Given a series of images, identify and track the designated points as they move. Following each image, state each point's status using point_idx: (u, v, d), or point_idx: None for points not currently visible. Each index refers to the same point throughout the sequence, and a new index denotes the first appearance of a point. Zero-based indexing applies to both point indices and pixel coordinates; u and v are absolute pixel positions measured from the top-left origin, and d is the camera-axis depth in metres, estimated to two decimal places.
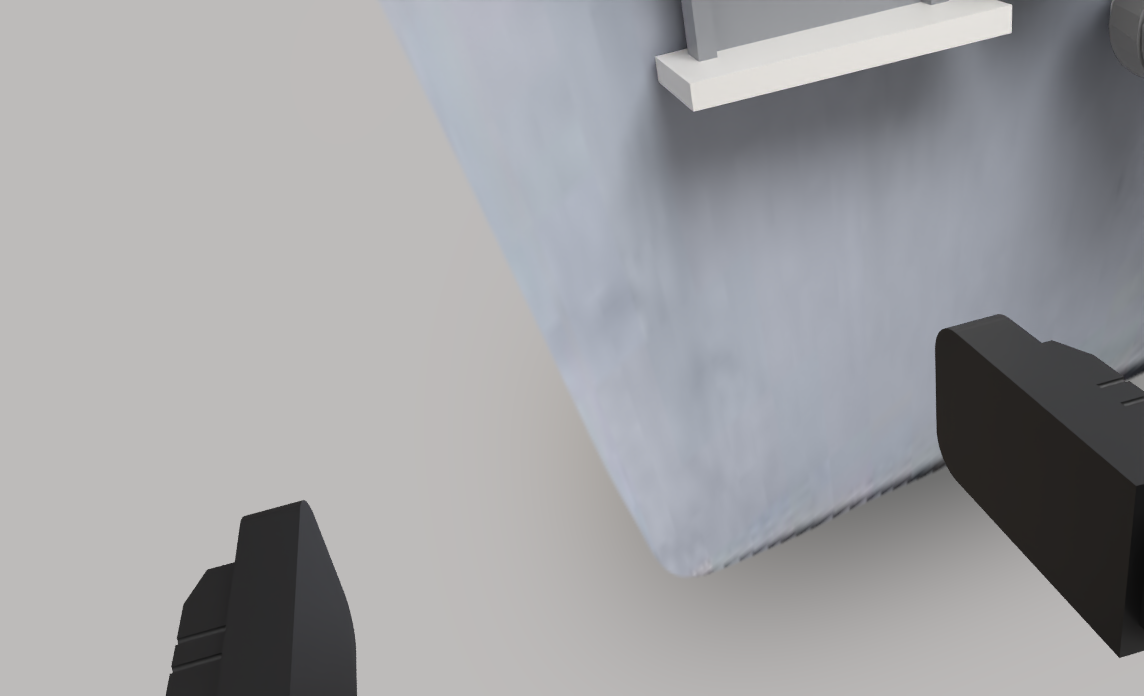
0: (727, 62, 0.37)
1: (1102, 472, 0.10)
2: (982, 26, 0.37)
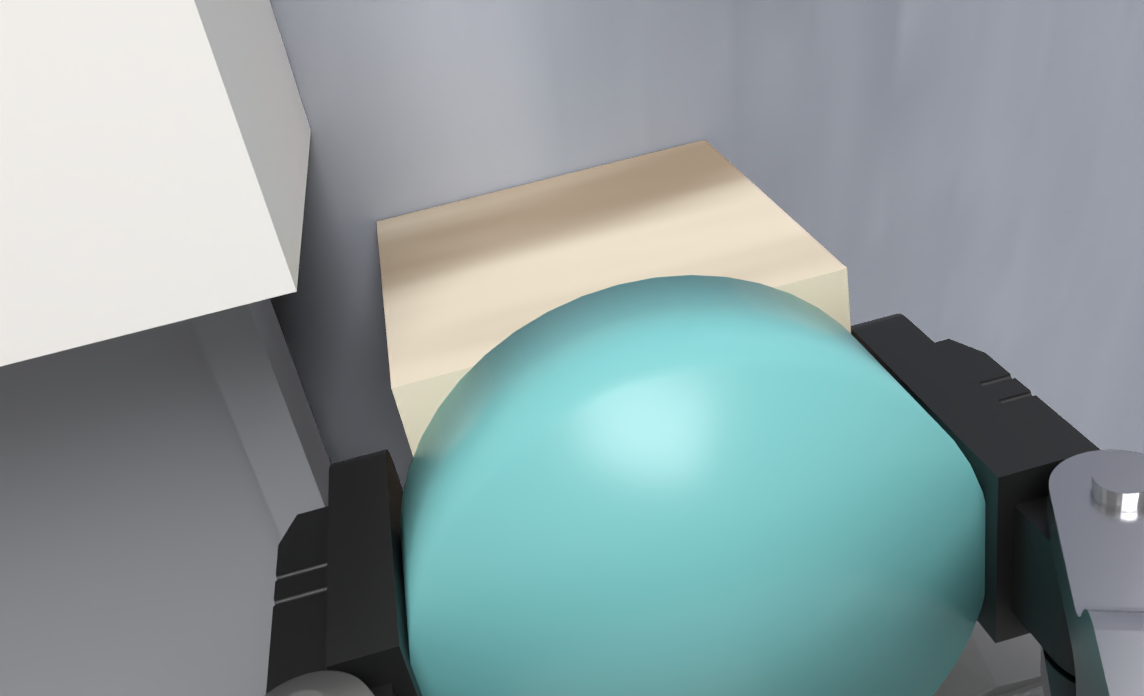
0: None
1: (971, 464, 0.10)
2: None
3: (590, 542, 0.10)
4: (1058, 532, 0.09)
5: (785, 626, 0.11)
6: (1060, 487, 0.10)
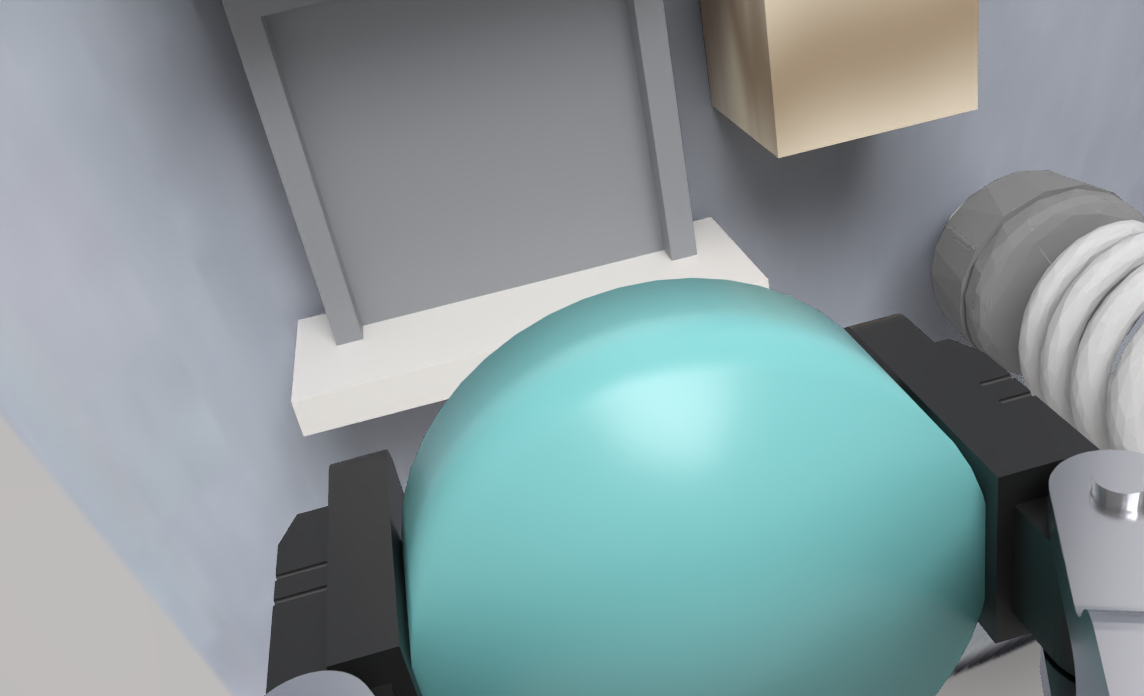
0: (366, 355, 0.26)
1: (971, 464, 0.10)
2: None
3: (591, 545, 0.10)
4: (1059, 532, 0.09)
5: (786, 628, 0.11)
6: (1061, 487, 0.10)
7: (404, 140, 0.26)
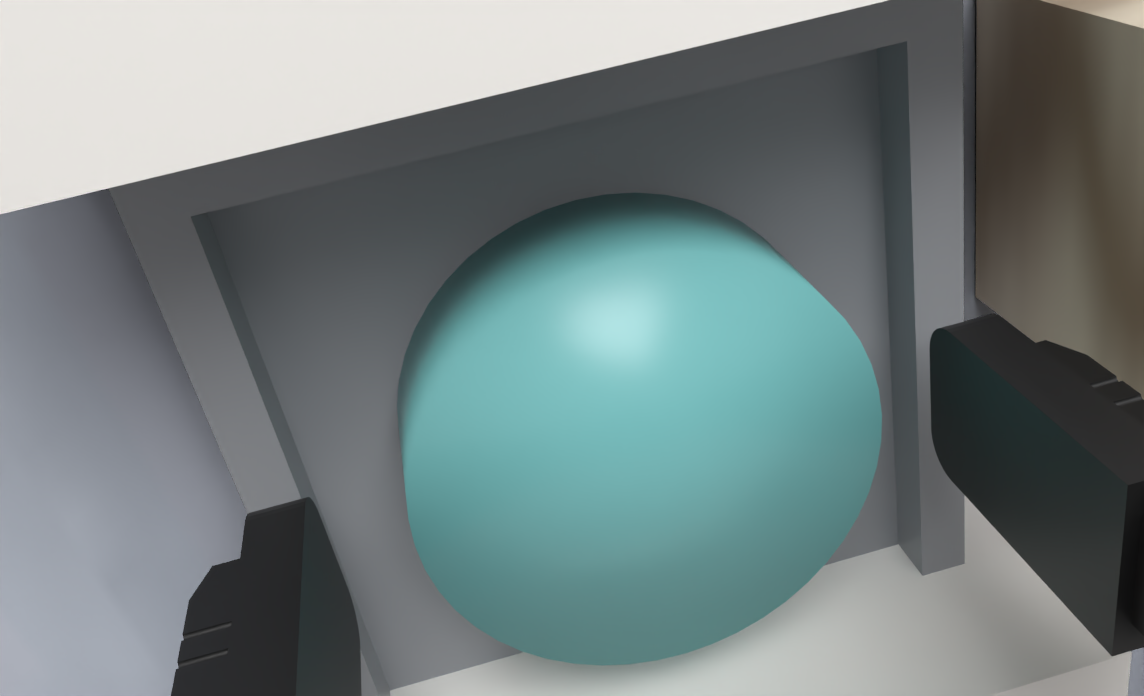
0: None
1: (1094, 471, 0.10)
2: None
3: (551, 399, 0.12)
4: None
5: (714, 478, 0.13)
6: None
7: None
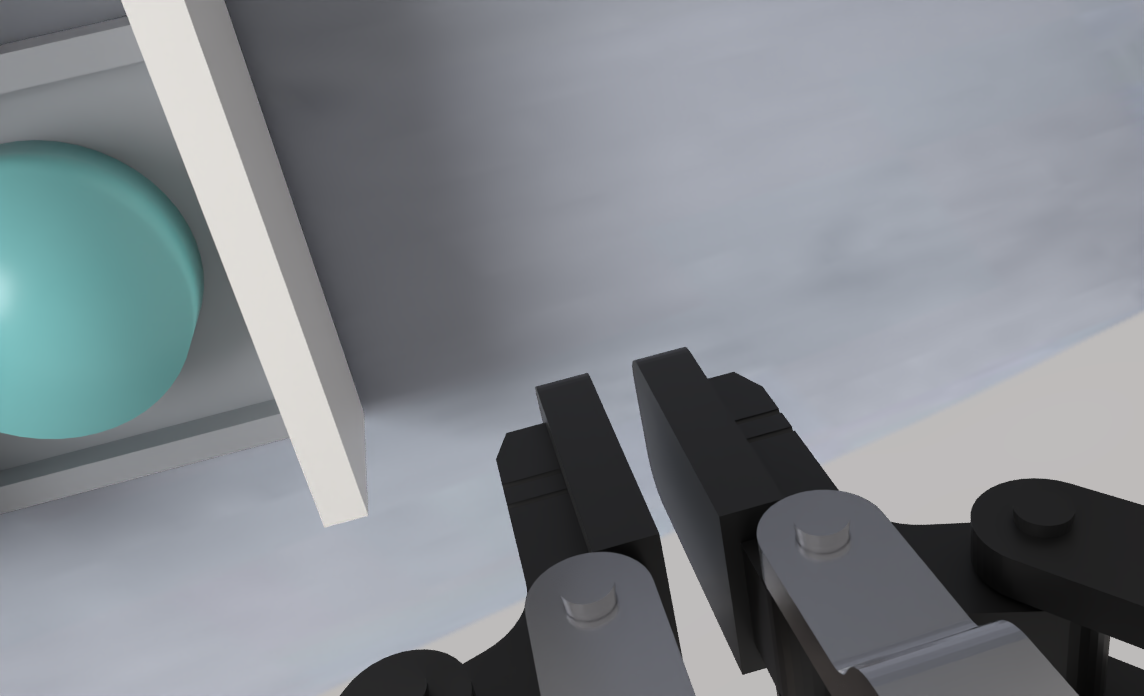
0: None
1: (706, 502, 0.11)
2: (168, 38, 0.18)
3: None
4: (786, 591, 0.09)
5: (32, 276, 0.21)
6: (770, 543, 0.10)
7: None
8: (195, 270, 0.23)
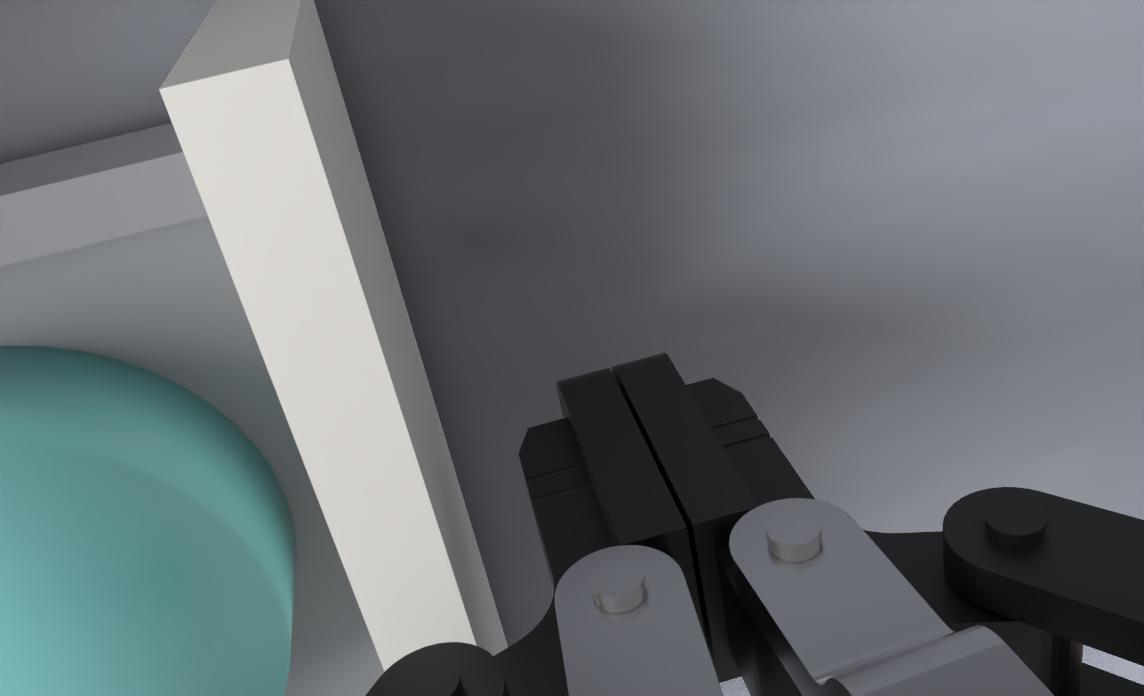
0: None
1: (681, 510, 0.11)
2: (275, 209, 0.09)
3: None
4: (761, 601, 0.09)
5: None
6: (743, 554, 0.10)
7: None
8: (288, 554, 0.13)
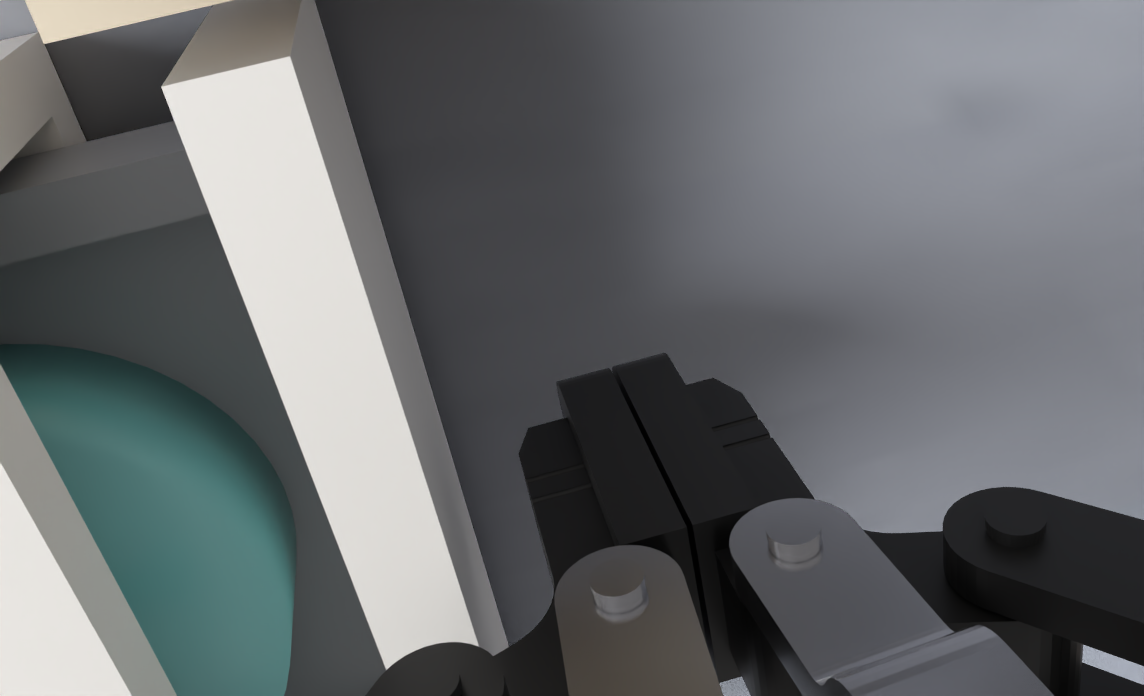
0: None
1: (681, 510, 0.11)
2: (277, 206, 0.09)
3: None
4: (761, 602, 0.09)
5: None
6: (744, 554, 0.10)
7: None
8: (288, 551, 0.13)
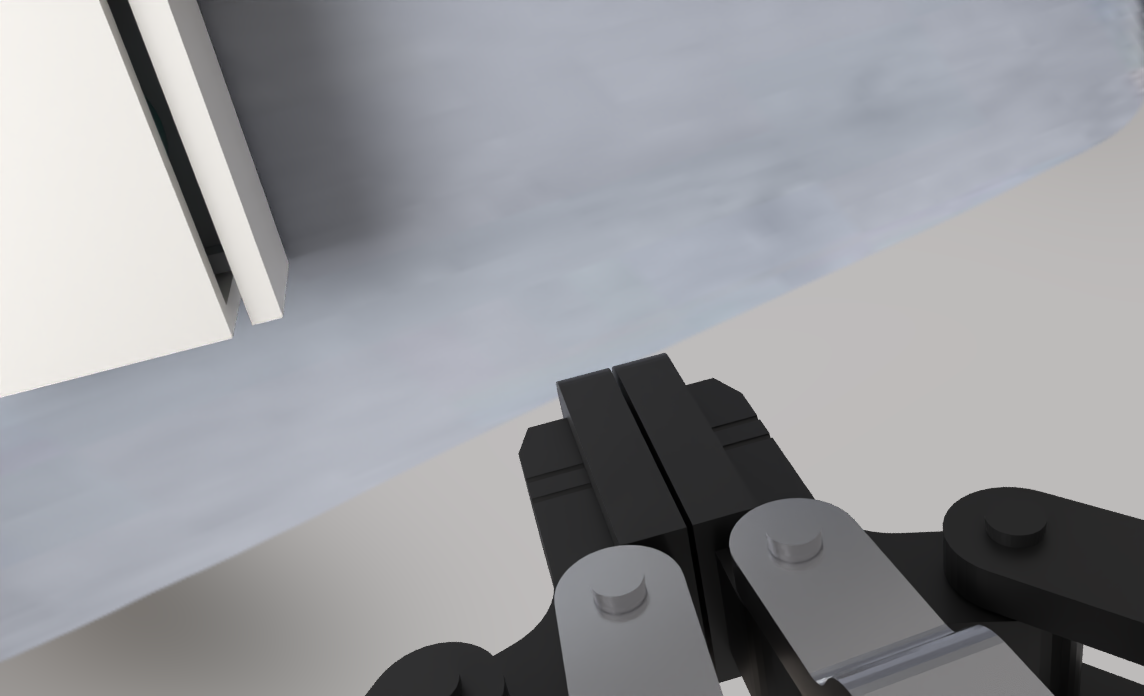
0: None
1: (682, 511, 0.11)
2: None
3: None
4: (762, 602, 0.09)
5: None
6: (743, 555, 0.10)
7: None
8: None
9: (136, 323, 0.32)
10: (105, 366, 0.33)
